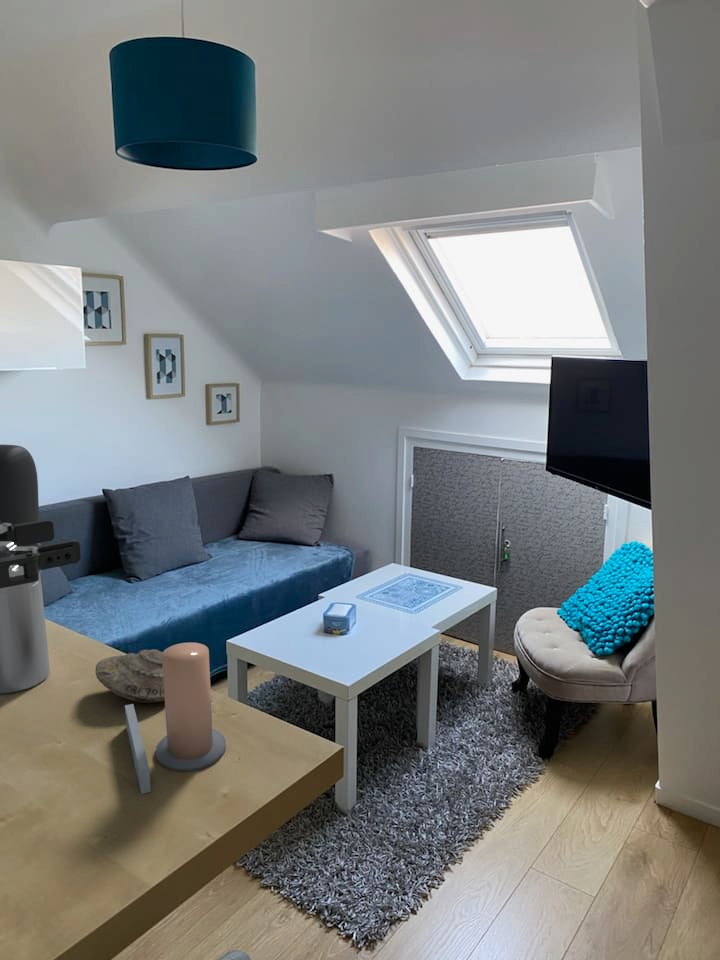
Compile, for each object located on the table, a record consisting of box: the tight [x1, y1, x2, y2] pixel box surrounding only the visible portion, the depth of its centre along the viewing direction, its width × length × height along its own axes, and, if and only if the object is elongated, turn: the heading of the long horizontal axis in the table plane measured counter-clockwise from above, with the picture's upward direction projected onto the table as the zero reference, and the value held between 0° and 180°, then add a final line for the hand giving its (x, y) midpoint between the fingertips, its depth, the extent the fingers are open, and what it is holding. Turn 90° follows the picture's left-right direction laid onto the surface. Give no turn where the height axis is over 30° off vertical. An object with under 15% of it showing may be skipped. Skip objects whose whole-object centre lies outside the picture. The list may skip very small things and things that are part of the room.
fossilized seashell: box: [95, 648, 165, 704], centre depth 99 cm, size 11×11×7 cm
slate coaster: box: [155, 728, 227, 772], centre depth 87 cm, size 8×8×1 cm
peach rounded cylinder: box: [162, 642, 213, 760], centre depth 85 cm, size 5×5×12 cm
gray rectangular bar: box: [124, 703, 152, 795], centre depth 85 cm, size 14×1×3 cm, turn 24°
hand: (65, 539), depth 75 cm, fingers open, 8 cm apart
